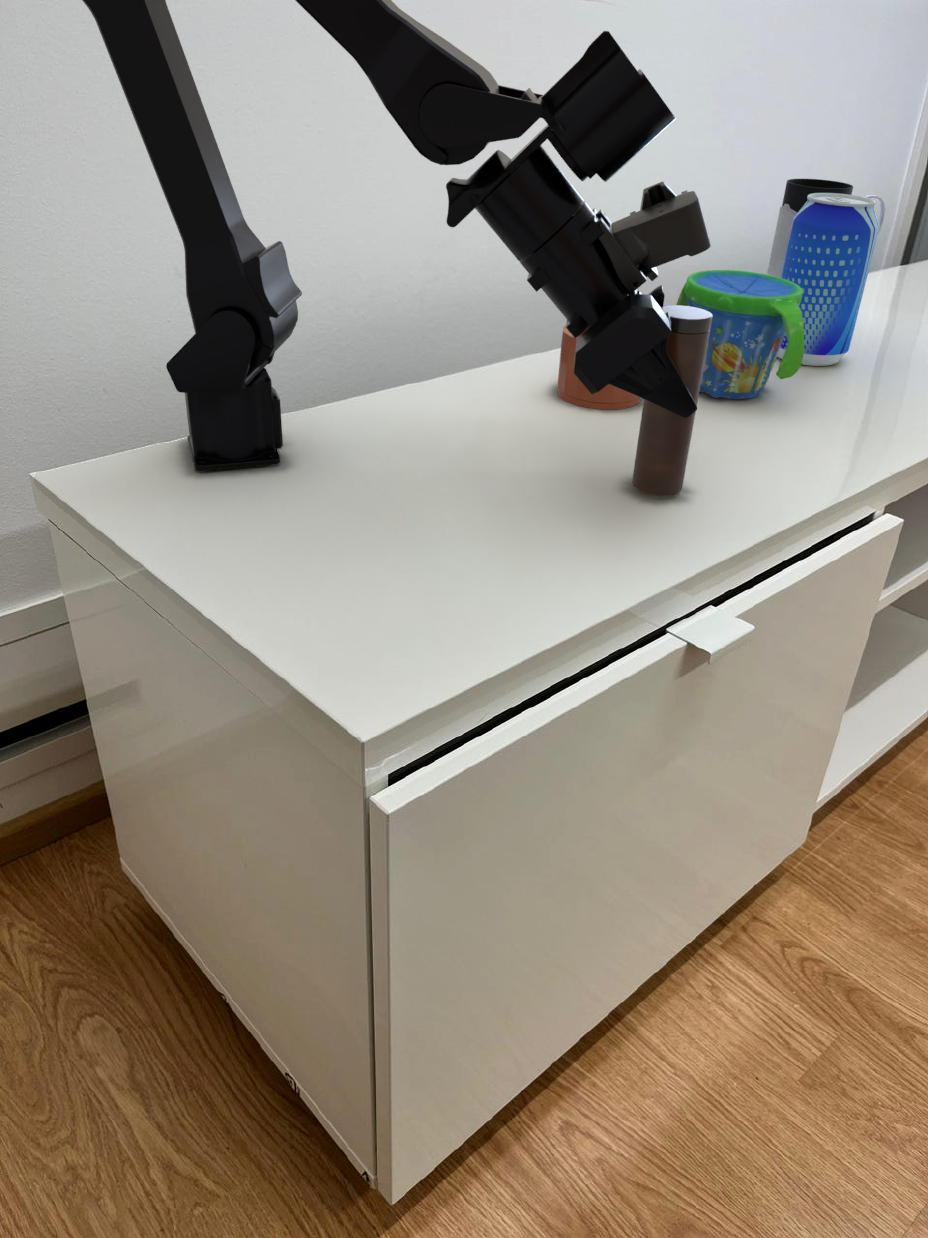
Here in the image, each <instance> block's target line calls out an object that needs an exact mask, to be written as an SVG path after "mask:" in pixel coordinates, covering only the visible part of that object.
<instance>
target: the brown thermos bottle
mask: <svg viewBox="0 0 928 1238" xmlns="http://www.w3.org/2000/svg"><path fill="white" fill-rule="evenodd" d="M661 309H662V310H663V312H664V313H667V312H669V316H670V320H671V332H670V334H669V336H668V342H667V347H666V348H667V349H668V351H669V353H670V355H671V357H672V359H673V361H674V363H675V365H676V366H677V368H678V370H679V372H680V374H681V376H682V378H683V380H684V382H685V384H686V385H687V387H688V389H689V391H690V393H691V395H692V397H693V399H694V401H695V403H696V405H697V406H698V401H699V395H700V385H701V379H702V374H703V368H704V362H705V357H706V351H707V345H708V340H709V334H710V328H711V323H712V317H713V316H712V314H711V313H710V312H708V311H706V310H704V309H700V308H696V307H690V306H679V305H676V304H674V305H673V304H672V305H665V306H664V305H663V307H661ZM696 412H697V411H696ZM696 412H694V413H693V414H692V415H690V416H689V417H687V418H684V417H682V416H680V415H678V414H675V413H673V412H671V411H669V410H667V409H665V408H663V407H660V406H658V405H656V404H654V403H652V402H650V401H648V400H645V399H643V403H642V411H641V418H640V425H639V431H638V437H637V445H636V450H635V451H636V452H635V459H634V465H633V472H632V479H631V485H632V487H634V489H636V490H637V491H639V492H641V493H644V494H648V495H652V496H659V497H668V496H674V495H677V494H679V493H681V492H682V490H683V487H684V481H685V475H686V469H687V464H688V458H689V452H690V447H691V446H690V445H691V441H692V435H693V430H694V424H695V419H696Z"/></svg>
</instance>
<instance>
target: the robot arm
mask: <svg viewBox="0 0 928 1238" xmlns="http://www.w3.org/2000/svg"><path fill="white" fill-rule="evenodd" d="M81 1H82V2H83V3H84V5H85V6H86V7H87V8H88V10H89V12H90V14H91V15H92V17H93V18H94V21H95V23H96V25H97V28H98V30H99V33H100V35H101V39H102V41H103V43H104V45H105V49H106V50H107V53H108V57H109V59H110V61H111V63H112V66H113V68H114V71H115V73H116V76H117V79H118V81H119V84H120V87H121V89H122V90H123V94H124V96H125V100H126V101H127V104H128V106H129V109H130V111H131V114H132V116H133V119H134V121H135V125H136V126H137V129H138V132H139V134H140V137H141V139H142V142H143V145H144V147H145V149H146V152H147V154H148V157H149V160H150V162H151V165H152V167H153V170H154V172H155V175H156V178H157V179H158V182H159V185H160V187H161V190H162V193H163V195H164V198H165V200H166V202H167V205H168V208H169V210H170V213H171V215H172V218H173V221H174V223H175V225H176V228H177V231H178V233H179V235H180V238H181V241H182V244H183V249H184V270H185V271H184V272H185V294H186V299H187V303H188V308H189V312H190V316H191V321H192V325H193V329H194V334H193V335H192V336H191V337H190V339H188V341H187V342H185V344H184V345H183V346H182V347H181V348H180V349H179V350H178V351H177V352H176V353H175V354H174V355H173V356H172V357H171V358H170V359H169V360H168V361H167V363H166V365H165V369H166V370H167V372H168V374H169V377H170V379H171V381H172V383H173V386H174V387H175V389H176V391H177V392H178V393H182V394H183V393H184V399H185V407H186V416H187V424H188V425H187V426H188V433H189V434H188V435H187V436H186V439H187V445H188V450H189V453H190V457H191V461H192V465H193V466H192V467H193V469H194V471H196V472H207V471H219V470H228V469H229V470H230V469H241V468H252V467H253V468H254V467H265V466H274V465H275V466H276V465H279V464H281V462H282V461H281V455H280V453H279V451H278V450H280V449H282V447H284V444H283V443H284V442H283V426H282V409H281V408H282V407H281V398H280V397H279V394H278V392H277V390H276V389H275V388H274V387H273V385H272V378H271V376H270V374H269V372H268V370H267V369H266V366H267V365H270V364H271V363H272V362H273V360H274V356H275V353H276V352H277V350H278V349H279V348H280V347H281V346H282V345H283V344H284V343H285V342H286V341H287V340H288V339H290V337H291V336H292V335H293V332H294V330H295V327H296V326H297V323H298V320H299V319H298V318H299V310H298V305H297V300H298V299H300V297H301V296H302V295H303V292H302V290H301V289H300V288H299V286H298V285H297V284H296V282H295V281H294V279H293V276H292V275H291V271H290V268H289V263H288V258H287V251H286V249H285V246H284V243H283V242H282V241H281V240H278V241H276V242H274V243H272V244H269V245H268V246H266V247H265V246H264V244H263V243H262V242H261V241H260V239H259V237H257V235H256V234H255V233H254V232H253V230H252V229H251V228H250V227H249V225H248V223H247V222H246V220H245V217H244V214H243V211H242V209H241V206H240V204H239V203H240V202H239V201H238V197H237V195H236V192H235V189H234V188H233V185H232V181H231V178H230V176H229V173H228V170H227V168H226V164H225V162H224V159H223V156H222V154H221V151H220V148H219V145H218V142H217V139H216V137H215V133H214V131H213V129H212V126H211V123H210V120H209V118H208V115H207V112H206V110H205V109H206V108H205V107H204V104H203V101H202V98H201V96H200V93H199V90H198V87H197V85H196V81H195V79H194V76H193V73H192V71H191V67H190V64H189V63H188V59H187V56H186V54H185V51H184V49H183V46H182V43H181V40H180V37H179V35H178V32H177V29H176V27H175V23H174V21H173V18H172V16H171V13H170V10H169V8H168V3H167V0H81ZM294 1H295V2H296V3H297V4H298V5H299V6H300V7H301V8H302V9H303V10H304V11H305V12H306V13H307V14H308V15H309V16H310V17H311V18H313V20H315V21H316V23H317V24H318V25H319V26H320V27H321V28H323V30H325V31H326V32H327V34H328V35H330V37H332V39H334V40H335V41H336V42H337V43H338V44H339V46H341V47H342V49H344V50H345V51H346V53H348V54H349V55H350V56H351V57H352V58H353V59H354V61H355V62H356V63H357V64H358V66H359V67H360V68H361V70H362V72H363V73H364V74H365V75H366V78H367V79H368V80H369V82H370V84H371V86H372V87H373V89H374V90H375V92H376V94H377V96H378V98H379V99H380V101H381V103H382V104H383V106H384V107H385V109H386V110H387V112H388V113H389V114H390V116H391V118H393V120H394V121H395V122H396V124H397V125H398V127H399V128H400V129H401V131H402V132H403V134H404V135H405V136H406V138H407V139H408V140H409V142H410V143H411V145H412V146H413V147H414V148H415V149H416V151H417V152H418V153H419V154H420V155H421V156H422V157H424V158H425V159H426V160H428V161H430V162H432V163H434V164H437V165H440V166H456V165H459V166H460V165H462V164H464V163H467V162H469V161H471V160H473V159H475V158H476V157H477V156H478V155H479V154H480V153H482V152H483V151H484V150H485V148H486V147H488V145H489V144H491V143H495V142H500V141H501V142H502V141H508V140H514V139H519V138H521V137H522V136H523V135H524V134H525V133H526V132H527V131H528V130H529V129H530V128H531V127H532V126H533V125H534V124H536V122H537V121H538V120H540V119H543V120H544V121H545V123H546V124H547V125H545V126H544V127H543V129H541V130H540V131H539V132H538V133H537V134H536V135H535V136H534V137H533V138H532V139H531V140H530V141H529V142H528V143H527V144H526V145H525V146H524V147H523V148H522V149H520V150H519V151H518V152H517V153H516V154H515V155H514V156H513V157H512V158H510V157H509V156H508V155H507V154H506V153H505V152H503V151H501V150H500V149H497V150H495V151H494V152H493V153H492V155H490V156H489V157H488V158H487V159H486V160H485V161H484V162H483V163H482V164H481V165H480V166H479V167H478V168H477V169H476V170H475V171H474V172H473V173H472V174H471V175H470V176H469V177H468V178H466V179H465V178H457V177H452V178H450V179H449V180H448V182H447V183H446V184H445V189H446V193H447V199H448V203H447V207H448V208H447V215H446V225H447V226H448V227H449V228H451V229H452V228H456V227H457V226H458V225H459V224H460V223H461V222H462V221H463V220H464V219H466V217H468V215H470V214H471V213H472V212H473V211H474V210H476V212H477V213H478V214H479V215H480V216H481V217H482V219H483V220H484V221H485V222H486V224H487V225H488V226H489V227H490V229H492V231H493V232H494V234H496V236H497V237H498V238H499V239H500V240H501V242H502V243H503V244H504V245H505V246H506V248H507V249H508V250H509V251H510V253H511V254H512V255H513V256H514V257H515V259H516V260H517V261H518V262H519V263H520V265H521V266H522V267H523V269H525V271H527V273H528V274H527V278H526V281H527V282H528V284H529V285H530V286H531V288H533V290H534V291H535V292H539V291H540V289H541V290H542V291H543V292H544V293H545V295H546V296H547V297H548V299H549V300H550V301H551V302H552V303H553V304H554V306H555V307H556V308H557V310H558V311H559V313H561V314H562V316H563V317H564V318H565V319H566V322H565V325H566V328H567V329H568V330H569V332H570V333H571V334H572V335H573V336H574V338H577V341H576V350H575V361H574V374H575V375H576V376H577V377H578V379H579V380H580V381H581V382H582V383H583V385H584V386H585V387H586V388H587V389H588V391H589V392H590V393H591V394H594V393H597V392H599V391H600V390H602V389H603V388H604V387H605V386H607V385H608V384H610V385H613V386H615V387H617V388H620V389H622V390H625V391H627V392H629V393H632V394H634V395H636V396H639V397H641V398H642V399H643V400H644V399H645V400H648V401H650V402H652V403H654V404H656V405H658V406H660V407H663V408H665V409H667V410H669V411H671V412H673V413H675V414H678V415H680V416H682V417H684V418H687V417H689V416H690V415H692V414H693V413H694V412H697V410H698V404H697V405H696V403H695V401H694V399H693V397H692V395H691V393H690V391H689V389H688V387H687V385H686V384H685V382H684V380H683V378H682V376H681V374H680V372H679V370H678V368H677V366H676V365H675V363H674V361H673V359H672V357H671V355H670V353H669V351H668V349H667V348H666V347H667V342H668V336H669V334H670V332H671V320H670V316H669V312H667V313H664V312H663V310H662V309H661V307H664V303H665V291H664V288H663V285H662V284H661V285H659V286H657V287H655V288H654V289H653V290H651V292H649V293H648V294H644V293H642V292H641V290H638V289H639V288H640V287H642V286H643V284H645V283H646V282H647V281H648V280H647V278H648V279H649V280H650V281H651V282H654V281H655V280H656V279H657V278H658V277H659V271H658V268H657V267H659V266H662V265H664V264H667V263H670V262H672V261H675V260H678V259H680V258H683V257H685V256H689V257H695V256H697V255H700V254H701V253H703V252H706V251H707V250H709V249H710V248H711V247H712V242H711V239H710V236H709V232H708V228H707V225H706V221H705V216H704V213H703V211H702V206H701V202H700V199H699V196H698V194H697V193H696V191H694V190H691V191H688V190H687V189H686V190H684V191H681V193H680V194H676V193H675V191H673V189H671V187H669V185H668V184H666V183H665V181H660V182H658V183H655V184H652V185H649V186H648V187H645V188H644V189H642V190H643V191H642V196H641V202H640V207H639V210H638V211H636V210H633V211H631V212H629V215H627V216H625V217H623V218H621V219H618V220H616V221H614V222H612V221H611V220H610V218H609V217H608V216H607V215H606V213H605V211H603V210H602V209H599V210H597V209H596V208H595V207H594V208H593V209H591V208H590V207H591V206H589V204H588V203H587V202H586V201H585V200H584V198H583V197H582V196H581V195H580V194H579V192H578V191H577V190H576V188H575V187H574V186H573V184H572V183H571V182H570V180H569V179H568V177H566V175H565V174H564V173H563V171H562V170H561V169H560V167H559V166H558V165H557V164H556V163H555V161H554V160H553V159H552V157H551V156H550V154H548V152H547V151H546V150H545V148H544V147H543V146H542V145H543V144H544V143H545V142H546V141H547V140H548V142H549V143H550V144H551V146H552V147H553V148H554V150H555V151H556V152H557V154H558V156H560V158H561V159H562V161H564V162H563V163H565V164H566V165H567V167H568V168H569V169H570V171H571V172H572V173H573V174H574V175H575V176H576V177H577V178H578V179H579V181H581V182H585V181H586V179H588V178H589V180H591V179H592V178H594V177H595V176H596V175H597V176H598V177H599V178H600V179H601V180H602V181H603V182H604V183H607V182H608V181H610V179H611V178H612V177H614V176H615V175H616V174H617V173H618V172H619V171H620V170H621V169H623V167H624V166H626V165H627V164H628V163H629V162H630V161H631V160H633V159H634V157H636V156H637V155H638V154H639V153H640V152H641V151H642V150H644V149H645V148H646V147H647V146H648V145H649V144H650V143H651V142H652V141H654V140H655V139H656V138H657V137H658V136H659V135H660V134H661V133H662V132H664V131H665V130H666V129H667V128H668V127H669V126H670V125H671V124H672V123H673V122H674V121H676V119H677V118H676V117H675V115H674V114H673V112H672V111H671V109H670V108H669V106H668V105H667V104H666V102H665V101H664V100H663V98H662V97H661V96H660V94H659V93H658V91H657V90H656V89H655V87H654V86H653V84H652V83H651V82H650V80H649V79H648V78H647V76H646V75H645V73H644V72H643V71H642V69H641V68H638V70H637V68H636V67H635V65H633V63H632V62H631V60H630V59H629V57H628V56H627V54H626V53H625V51H623V49H622V48H621V46H620V44H619V43H618V42H617V40H616V39H615V38H614V37H613V35H612V33H610V31H609V30H603V31H602V32H601V33H600V34H599V35H598V36H597V37H596V38H595V39H594V40H593V41H592V42H591V43H590V44H589V45H588V47H587V48H586V49H585V51H584V53H583V55H582V56H581V57H580V58H579V60H577V62H575V63H574V64H573V65H572V67H570V68H569V69H568V70H567V71H566V72H565V73H564V74H563V75H562V76H561V77H560V78H559V79H558V80H557V81H556V82H555V83H554V84H553V85H552V86H551V87H550V88H549V89H548V90H547V91H546V92H545V93H544V94H541V93H536V92H533V91H532V89H531V88H530V87H528V88H527V89H526V90H523V89H518V88H515V87H510V86H505V85H500V84H498V82H497V81H496V79H495V77H494V76H493V75H492V73H491V71H489V70H488V69H486V68H485V66H483V65H482V64H480V63H479V62H478V61H477V60H475V59H474V58H472V57H471V56H469V55H468V54H466V53H465V52H464V51H463V50H461V49H459V48H458V47H457V46H455V45H454V44H452V43H451V42H450V41H448V40H447V39H445V38H444V37H442V35H439V34H437V33H436V32H434V31H433V30H431V29H430V28H429V27H427V26H426V25H424V24H422V23H421V22H419V21H417V20H416V19H415V18H413V17H412V16H411V15H409V14H408V13H406V12H405V11H404V10H403V9H401V8H399V7H398V6H397V5H396V3H395V2H394V1H393V0H294ZM587 328H588V329H587ZM586 329H587V330H586ZM585 330H586V331H585ZM584 331H585V332H584ZM581 333H582V334H581ZM580 334H581V335H580ZM579 335H580V336H579ZM578 336H579V337H578Z"/></svg>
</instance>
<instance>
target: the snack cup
mask: <svg viewBox="0 0 928 1238" xmlns="http://www.w3.org/2000/svg"><path fill="white" fill-rule="evenodd" d="M802 294H803V290H802V289H801V287H800V286H798V285H797V284H795V283H793V282H791V281H788V280H786V279H783V278H779V277H775V276H771V275H767V273H761V272H755V271H745V270H735V269H710V270H700V271H696V272H693V273H691V274H689V275H688V276H687V278H686V281H685V283H684V285H683V287H682V289H681V291H680V294H679V296H678V299H677V301H676V304H675V305H679V306H690V307H696V308H700V309H704V310H706V311H708V312H710V313H711V314H712V316H713V317H712V323H711V328H710V334H709V340H708V345H707V351H706V357H705V362H704V368H703V374H702V379H701V385H700V391H699V393H700V392H701V393H706V394H708V396H709V395H710V396H711V397H713V398H715V399H717V398H725V399H729V400H745V399H746V400H750V399H752V398H755V397H756V396H759V395H760V393H762V392H763V391H764V389H765V388H766V385H767V383H768V381H769V378H770V375H771V372H772V371H773V368H774V366H775V363H776V360H777V358H778V357H777V355H778V352H779V350H780V346H781V343H782V340H783V338H784V336H785V334H786V337H787V341H788V345H787V348H786V350H785V353H784V356H783V358H782V359H781V360H780V364H779V365H778V369H777V371H776V373H775V375H776V377H777V378H778V379H780V380H785V379H789V378H792V377H793V376H795V374H796V373H798V372H799V370H800V368H801V366H802V359H803V352H804V322H803V318H802V313H801V310H800V308H799V304H800V302H801V298H802Z"/></svg>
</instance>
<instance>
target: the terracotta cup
mask: <svg viewBox="0 0 928 1238" xmlns="http://www.w3.org/2000/svg"><path fill="white" fill-rule="evenodd" d="M587 329H588V328H587ZM587 329H586V330H587ZM586 330H585V331H586ZM561 331H562V332H561V342H560V354H559V362H558V363H559V364H558V374H557V386H556V393H557V395H558V396H559V398H560V399H562V400H564V401H565V402H567V403H570V404H573V405H576V406H578V407H584V408H589V409H596V410H621V409H627V408H632V407H634V406H637V405H638V404H640V402H642V399H643V398H641V397H639V396H636V395H634V394H632V393H629V392H627V391H625V390H622V389H620V388H617V387H615V386H613V385H610V384H608V385H607V386H605V387H604V388H603V389H602V390H600V391H599V392H597V393H594V394H591V393H590V392H589V391H588V389H587V388H586V387H585V386H584V385H583V383H582V382H581V381H580V380H579V379H578V377H577V376H576V375H575V374H574V361H575V350H576V341H577V338H574V336H573V335H572V334H571V333H570V332H569V330H568V329H567V328H566V324H565V325H563V326H562V330H561ZM585 331H584V332H585ZM581 334H582V333H581ZM581 334H580V335H581ZM580 335H579V336H580ZM579 336H578V337H579Z"/></svg>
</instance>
